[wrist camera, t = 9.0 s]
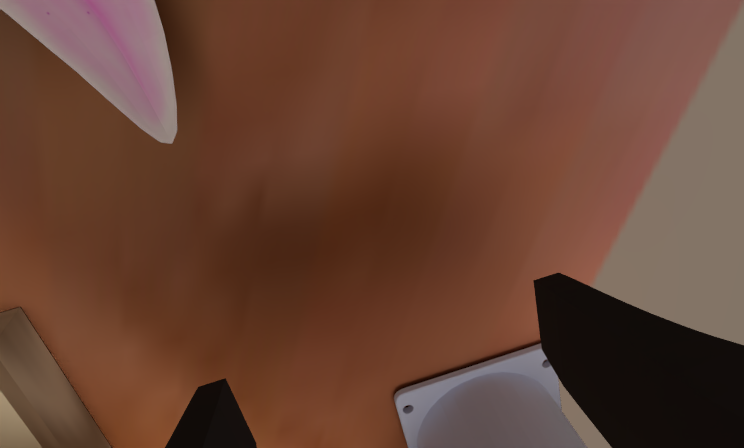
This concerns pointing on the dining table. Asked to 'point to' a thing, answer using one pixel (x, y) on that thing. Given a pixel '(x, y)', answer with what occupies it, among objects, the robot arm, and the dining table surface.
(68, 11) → the lily
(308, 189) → the dining table surface
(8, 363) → the beech base
